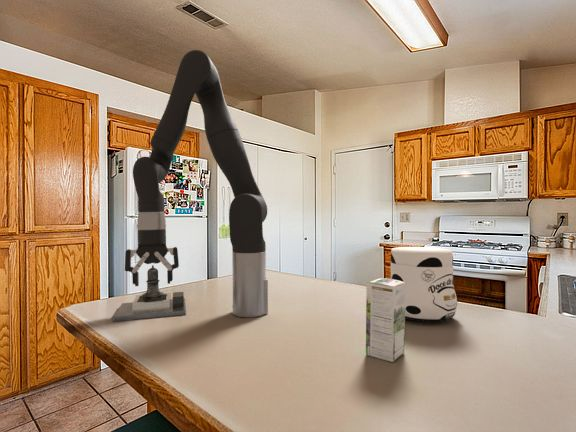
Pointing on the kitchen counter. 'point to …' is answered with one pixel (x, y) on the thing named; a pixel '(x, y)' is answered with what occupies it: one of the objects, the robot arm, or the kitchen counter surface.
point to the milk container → (425, 282)
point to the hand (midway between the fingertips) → (153, 284)
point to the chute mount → (152, 307)
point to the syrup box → (385, 319)
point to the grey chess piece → (152, 286)
